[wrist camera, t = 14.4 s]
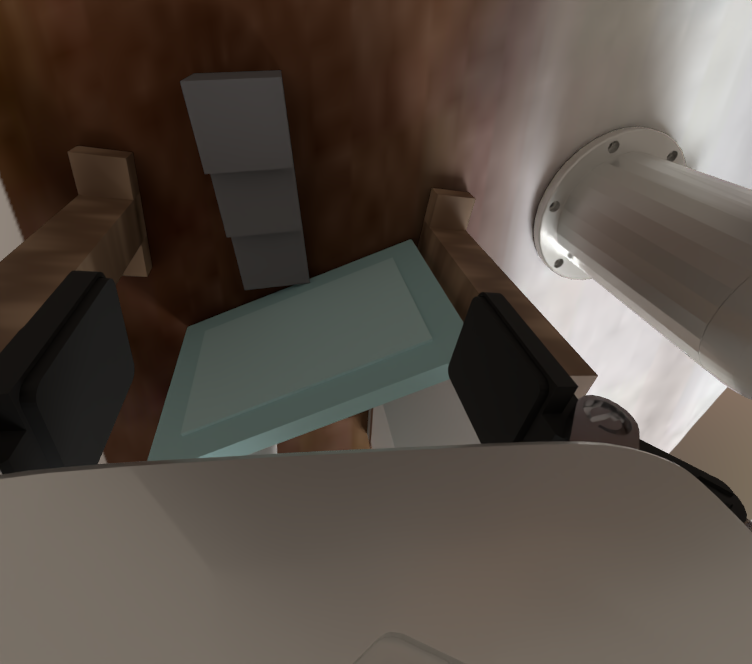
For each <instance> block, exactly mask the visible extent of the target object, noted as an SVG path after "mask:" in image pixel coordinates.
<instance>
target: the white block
mask: <svg viewBox="0 0 752 664" xmlns="http://www.w3.org/2000/svg"><path fill="white" fill-rule="evenodd" d="M367 435H368V439H369V444H370V448H372V449H379V448H399V447H421V446H443V445H465V444H481V443H480V441H479V439H478V437H477V435H476V432H475V430H474V428H473V426H472V424H471V422H470V420H469V418H468V416H467V414H466V412H465V410H464V407H463V405H462V403H461V401H460V399H459V397H458V395H457V393H456V391H455V389H454V387H453V385H452V382H451V380H450V379H449V380H446V381H444V382H441V383H438V384H436V385H433V386H430V387H428V388H425V389H422V390H420V391H417V392H414V393H412V394H409V395H406V396H404V397H401V398H398V399H396V400H393V401H390V402H388V403H385V404H382V405H380V406H377V407H374V408H371V409H369V414H368V430H367Z"/></svg>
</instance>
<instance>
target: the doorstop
mask: <svg viewBox="0 0 752 664" xmlns="http://www.w3.org/2000/svg"><path fill="white" fill-rule="evenodd" d="M180 84H181V88H182V91H183V95H184V99H185V102H186V106H187V110H188V114H189V117H190V121H191V125H192V129H193V132H194V136H195V140H196V143H197V147H198V151H199V155H200V158H201V162H202V166H203V170H204V173H205V174H210V175H211V179H212V183H213V187H214V190H215V194H216V198H217V202H218V206H219V210H220V213H221V217H222V221H223V225H224V229H225V233H226V237H231V239H232V243H233V247H234V250H235V254H236V258H237V262H238V266H239V270H240V274H241V278H242V282H243V286H244V290H252V289H261V288H270V287H279V286H288V285H297V284H306V283H310V280H309V272H308V265H307V257H306V250H305V243H304V235H303V228H302V221H301V213H300V206H299V199H298V191H297V184H296V177H295V169H294V162H293V155H292V147H291V140H290V133H289V125H288V118H287V110H286V103H285V96H284V88H283V81H282V74H281V70H271V71H245V72H219V73H194V74H192V75H190V76H188V77H187V78H185V79H183V80H181V81H180Z"/></svg>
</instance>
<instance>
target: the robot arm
mask: <svg viewBox="0 0 752 664" xmlns="http://www.w3.org/2000/svg"><path fill="white" fill-rule="evenodd" d="M534 241H535V247H536V249H537V252H538V255H539V257H540V258H541V259H542V261H543V262H544V264H545V265H547V266H548V267H549V268H550V269H551V270H552V271H553V272H555V273H557V274H558V275H560V276H562V277H565V278H569V279H575V280H586V279H593V280H595V281H596V282H597V283H598V284H600V285H601V286H602V287H603V288H605V289H606V290H607V291H608V292H610V293H611V294H612V295H613V296H615V297H616V298H617V299H618V300H619V301H621V302H622V303H623V304H624V305H626V306H627V307H628V308H629V309H631V310H632V311H633V312H634V313H636V314H637V315H638V316H639V317H641V318H642V319H643V320H644V321H646V322H647V323H648V324H649V325H650V326H652V327H653V328H654V329H655V330H657V331H658V332H659V333H660V334H662V335H663V336H664V337H665V338H667V339H668V340H669V341H670V342H672V343H673V344H674V345H675V346H676V347H678V348H679V349H680V350H681V351H683V352H684V353H685V354H686V355H688V356H689V357H690V358H691V359H693V360H694V361H695V362H696V363H698V364H699V365H700V366H701V367H702V368H704V369H705V370H706V371H708V372H709V373H710V374H712V375H713V376H714V377H715V378H717V379H718V380H719V381H720V382H722V383H723V384H724V385H726V386H727V387H729V388H730V389H732V390H733V391H735V392H737V393H739V394H741V395H742V396H744V397H746V398H749V399H752V190H751V189H748V188H745V187H742V186H739V185H737V184H734V183H731V182H728V181H725V180H722V179H719V178H716V177H714V176H711V175H708V174H705V173H702V172H699V171H696V170H693V169H691V168H688V167H686V162H685V158H684V155H683V152H682V150H681V148H680V147H679V145H678V144H677V142H676V141H675V140H674V139H673V138H671V137H670V136H669V135H667V134H666V133H663V132H660V131H657V130H654V129H650V128H645V127H626V128H622V129H619V130H615V131H611V132H609V133H607V134H605V135H603V136H601V137H598V138H596V139H594V140H593V141H592V142H590V143H589V144H587V145H586V146H584V147H583V148H581V149H580V150H579V151H578V152H577V153H576V154H574V155H573V156H572V157H571V158H570V159H569V160H568V161H567V162H566V163H565V164H564V165H563V166H562V168H561V169H560V170H559V171H558V172H557V174H556V175H555V176H554V178H553V179H552V181H551V182H550V184H549V186H548V187H547V189H546V190H545V193H544V195H543V197H542V199H541V201H540V204H539V206H538V210H537V214H536V217H535V223H534ZM448 375H449V378H450V380H451V382H452V385H453V387H454V389H455V391H456V393H457V395H458V397H459V399H460V401H461V403H462V405H463V407H464V410H465V412H466V414H467V416H468V418H469V420H470V422H471V424H472V426H473V428H474V430H475V432H476V435H477V437H478V439H479V441H480V443H481V444H465V445H443V446H421V447H399V448H379V449H359V450H339V451H320V452H300V453H281V454H263V455H245V456H227V457H209V458H191V459H173V460H157V461H141V462H125V463H110V464H98V462H99V460H100V457H101V455H102V452H103V450H104V448H105V445H106V443H107V440H108V438H109V436H110V433H111V431H112V428H113V426H114V423H115V421H116V419H117V416H118V414H119V411H120V409H121V407H122V404H123V402H124V399H125V397H126V395H127V392H128V390H129V387H130V385H131V383H132V380H133V377H134V362H133V358H132V354H131V349H130V345H129V341H128V337H127V332H126V328H125V324H124V320H123V315H122V311H121V307H120V303H119V298H118V294H117V290H116V285H115V282H114V280H113V279H112V278H106V276H105V275H104V273H102V272H95V271H76V270H74V271H71V272H70V273H69V274H68V275H67V276H66V278H65V279H64V280H63V281H62V282H61V283H60V285H59V286H58V287H57V288H56V289H55V291H54V292H53V293H52V294H51V295H50V296H49V298H48V299H47V300H46V301H45V302H44V303H43V305H42V306H41V307H40V308H39V309H38V311H37V312H36V313H35V314H34V315H33V316H32V318H31V319H30V320H29V321H28V322H27V323H26V325H25V326H24V327H23V328H21V329H20V330H19V331H18V332H17V334H16V335H15V336H14V337H13V338H12V340H11V341H10V342H9V343H8V344H7V345H6V347H5V348H4V349H3V350H2V351H1V352H0V664H752V520H748V519H747V518H746V517H747V514H746V511H745V508H744V506H743V505H742V503H741V501H740V500H739V498H738V497H737V496H736V495H735V494H734V493H733V491H732V490H731V489H730V488H729V487H728V486H727V485H726V484H725V483H724V482H722V481H721V480H719V479H718V478H716V477H713V476H711V475H709V474H707V473H706V472H704V471H702V470H699V469H697V468H696V467H693V466H692V465H690V464H688V463H686V462H684V461H682V460H680V459H678V458H676V457H674V456H672V455H670V454H668V453H666V452H664V451H662V450H660V449H658V448H656V447H654V446H652V445H650V444H648V443H646V442H644V441H642V440H640V439H639V428H638V424H637V423H636V421H635V420H634V418H633V417H632V416H631V415H630V414H629V413H628V412H627V411H626V410H625V409H624V408H622V407H621V406H619V405H618V404H616V403H614V402H612V401H611V400H609V399H606V398H603V397H600V396H594V395H586V396H582V397H581V398H579V399H578V398H577V397H576V396H575V394H574V393H575V392H576V390H577V388H578V387H579V386H578V385H577V384H576V383H575V382H574V380H573V379H572V378H571V377H570V376H569V374H568V373H567V372H566V371H565V370H564V368H563V367H562V366H561V365H560V363H559V362H558V361H557V360H556V359H555V357H554V356H553V355H552V354H551V353H550V351H549V350H548V349H547V348H546V347H545V345H544V344H543V343H542V342H541V340H540V339H539V338H538V337H537V336H536V334H535V333H534V332H533V331H532V330H531V328H530V327H529V326H528V325H527V324H526V322H525V321H524V320H523V319H522V318H521V316H520V315H519V314H518V313H517V311H516V310H515V309H514V308H513V307H512V305H511V304H510V303H509V302H508V301H507V299H506V298H505V297H504V296H503V295H502V294H501V293H493V292H481V293H479V295H478V296H477V297H476V296H475V297H474V298H473V299H472V301H471V304H470V306H469V309H468V312H467V315H466V318H465V320H464V323H463V326H462V329H461V332H460V335H459V337H458V340H457V343H456V346H455V349H454V351H453V354H452V357H451V360H450V363H449V366H448Z"/></svg>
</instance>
